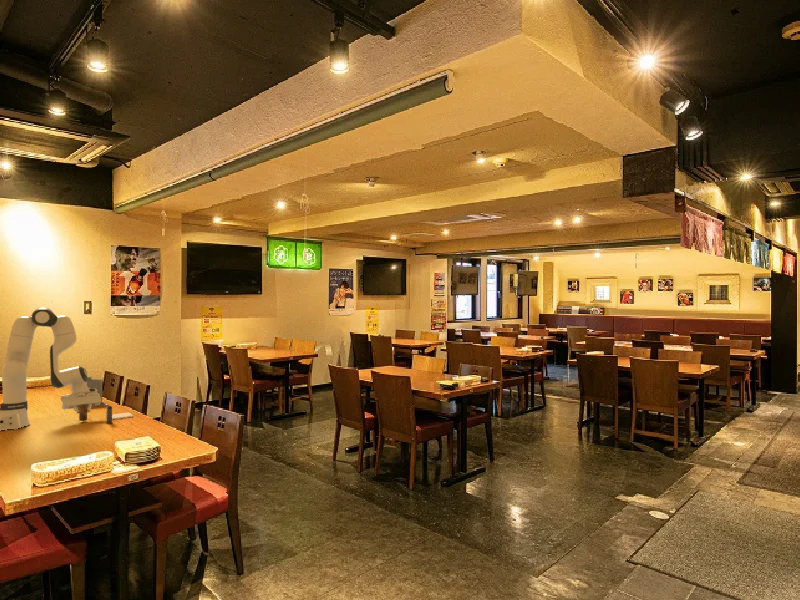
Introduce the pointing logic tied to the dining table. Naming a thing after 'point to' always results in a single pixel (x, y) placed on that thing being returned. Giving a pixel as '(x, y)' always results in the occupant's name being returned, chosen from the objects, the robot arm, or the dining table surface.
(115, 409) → the dining table surface
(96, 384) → the hip flask
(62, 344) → the robot arm
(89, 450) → the dining table surface
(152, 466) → the dining table surface
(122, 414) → the plate
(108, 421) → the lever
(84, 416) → the walnut peg
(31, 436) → the dining table surface
